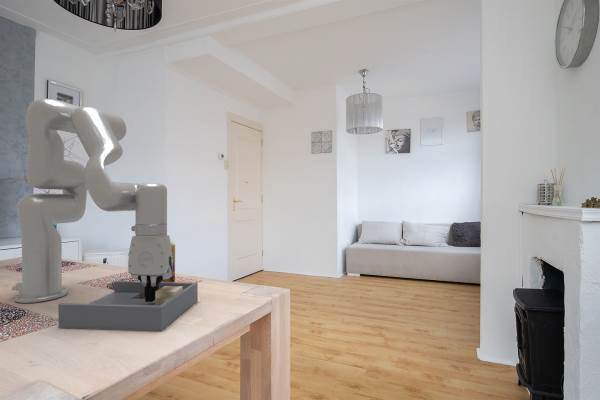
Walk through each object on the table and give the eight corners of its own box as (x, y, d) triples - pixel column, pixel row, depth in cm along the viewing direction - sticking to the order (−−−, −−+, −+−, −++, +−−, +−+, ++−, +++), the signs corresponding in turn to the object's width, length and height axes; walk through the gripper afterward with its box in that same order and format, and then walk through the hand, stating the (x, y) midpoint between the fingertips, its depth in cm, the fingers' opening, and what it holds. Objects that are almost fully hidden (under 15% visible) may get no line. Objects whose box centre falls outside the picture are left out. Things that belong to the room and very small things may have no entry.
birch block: (155, 307, 82) (155, 291, 82) (164, 300, 87) (164, 286, 87) (174, 307, 82) (174, 291, 82) (182, 301, 87) (182, 286, 87)
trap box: (58, 327, 75) (58, 304, 75) (116, 299, 96) (116, 281, 96) (161, 331, 73) (161, 307, 73) (197, 301, 94) (197, 282, 94)
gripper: (115, 231, 81) (115, 304, 81) (172, 232, 80) (172, 306, 80) (132, 228, 88) (132, 295, 89) (185, 229, 87) (185, 296, 87)
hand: (151, 300), depth 84 cm, fingers closed
